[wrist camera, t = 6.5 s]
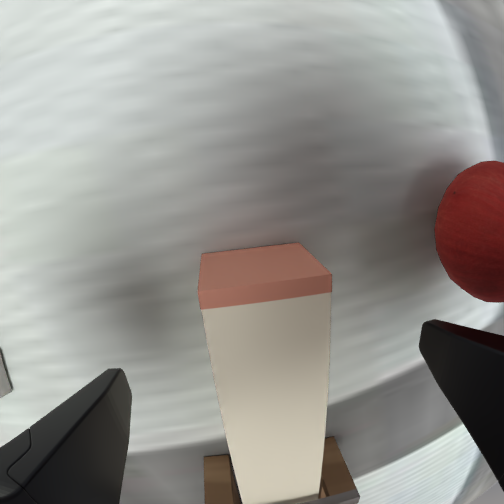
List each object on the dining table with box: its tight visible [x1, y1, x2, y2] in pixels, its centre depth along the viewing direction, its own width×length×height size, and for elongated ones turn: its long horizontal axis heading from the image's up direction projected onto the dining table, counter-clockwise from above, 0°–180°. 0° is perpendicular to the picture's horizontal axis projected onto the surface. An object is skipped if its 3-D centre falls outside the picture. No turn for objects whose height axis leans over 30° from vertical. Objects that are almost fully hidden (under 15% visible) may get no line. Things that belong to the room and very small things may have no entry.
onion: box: [434, 161, 504, 302], centre depth 10 cm, size 6×6×8 cm
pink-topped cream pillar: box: [198, 242, 332, 504], centre depth 13 cm, size 14×4×4 cm, turn 5°
